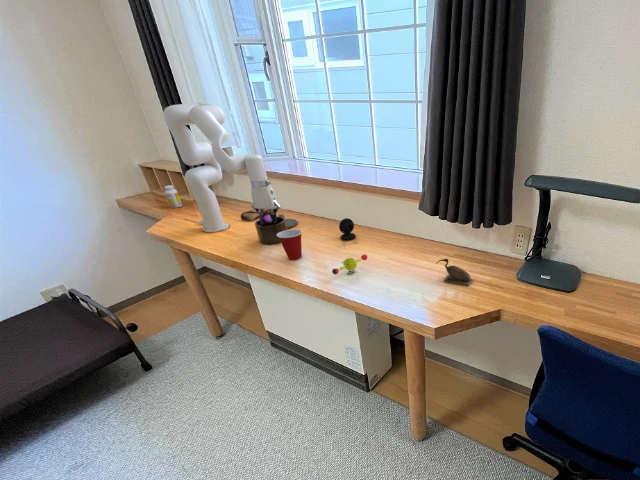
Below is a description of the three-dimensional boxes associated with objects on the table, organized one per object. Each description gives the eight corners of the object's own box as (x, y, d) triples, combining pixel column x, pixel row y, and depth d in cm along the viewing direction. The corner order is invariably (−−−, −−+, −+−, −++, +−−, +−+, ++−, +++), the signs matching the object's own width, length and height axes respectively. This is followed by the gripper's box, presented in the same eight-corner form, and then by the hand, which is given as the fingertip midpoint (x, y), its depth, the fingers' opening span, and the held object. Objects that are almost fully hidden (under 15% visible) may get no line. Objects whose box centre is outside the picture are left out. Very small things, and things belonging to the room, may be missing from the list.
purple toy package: (273, 206, 176) (258, 212, 169) (281, 211, 175) (266, 217, 168) (273, 218, 180) (258, 224, 174) (281, 223, 179) (266, 229, 172)
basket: (257, 246, 174) (251, 227, 169) (263, 235, 186) (258, 217, 180) (286, 243, 175) (281, 225, 170) (291, 233, 187) (286, 215, 182)
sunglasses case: (252, 221, 202) (244, 210, 201) (246, 225, 207) (238, 215, 205) (275, 211, 216) (268, 201, 214) (269, 215, 220) (262, 206, 218)
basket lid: (266, 231, 190) (263, 219, 186) (272, 221, 202) (269, 210, 199) (295, 229, 191) (292, 217, 188) (299, 219, 204) (297, 208, 200)
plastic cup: (306, 250, 168) (300, 226, 162) (308, 259, 160) (303, 234, 153) (281, 254, 165) (275, 229, 159) (283, 264, 157) (276, 238, 150)
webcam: (345, 242, 175) (342, 222, 170) (337, 237, 180) (334, 218, 175) (358, 237, 179) (356, 218, 174) (351, 233, 184) (348, 214, 179)
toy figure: (362, 263, 155) (360, 248, 152) (371, 266, 152) (370, 252, 149) (329, 279, 144) (326, 264, 140) (338, 283, 141) (336, 268, 137)
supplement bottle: (181, 204, 235) (173, 184, 228) (183, 206, 231) (175, 186, 224) (170, 206, 232) (161, 186, 225) (171, 208, 227) (163, 188, 220)
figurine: (434, 279, 141) (434, 259, 137) (438, 274, 145) (438, 255, 140) (468, 286, 136) (469, 265, 132) (472, 280, 140) (473, 260, 135)
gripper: (280, 181, 168) (289, 219, 178) (247, 181, 170) (257, 218, 180) (273, 186, 162) (283, 224, 171) (238, 186, 164) (249, 224, 173)
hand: (269, 221), depth 175 cm, fingers closed on purple toy package, 4 cm apart
